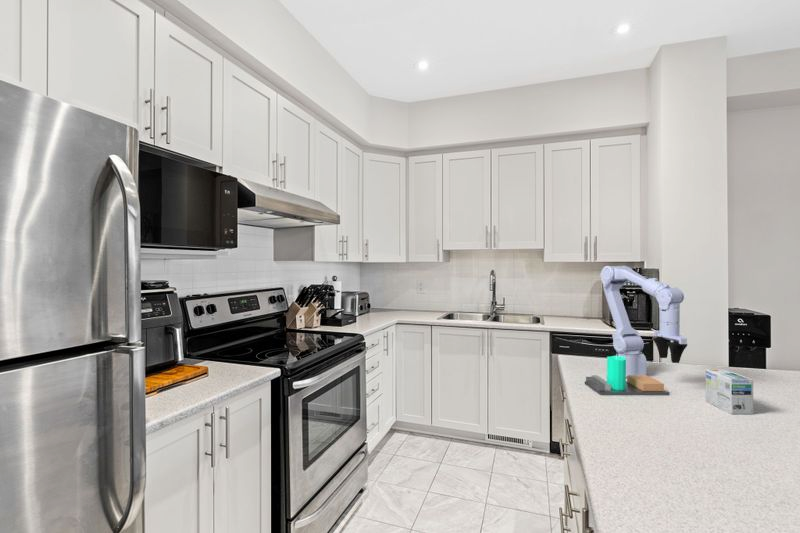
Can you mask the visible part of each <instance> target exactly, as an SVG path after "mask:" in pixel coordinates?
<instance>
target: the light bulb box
mask: <svg viewBox="0 0 800 533" xmlns="http://www.w3.org/2000/svg"><path fill="white" fill-rule="evenodd" d="M705 402H706V403H708V404H710V405H713V406H714V407H717V408H719V409H721V410H722V411H725V412H727V413H728V414H731V415H737V414H738V415H754V378H751V377H748V376H745V375H742V374H739V373H736V372H733V371H730V370H728V369H722V368H721V369H716V368H715V369H713V368H706V369H705Z"/></svg>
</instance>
